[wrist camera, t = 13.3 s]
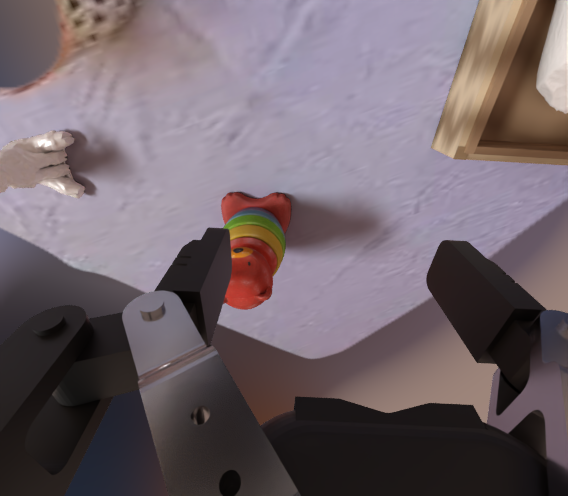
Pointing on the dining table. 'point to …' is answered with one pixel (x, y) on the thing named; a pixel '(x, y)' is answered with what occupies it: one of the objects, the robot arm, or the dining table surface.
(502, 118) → the upper crate
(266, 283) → the stacking bear
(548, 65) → the roll
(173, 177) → the dining table surface
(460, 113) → the box
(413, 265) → the dining table surface
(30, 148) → the sitting furry creature
